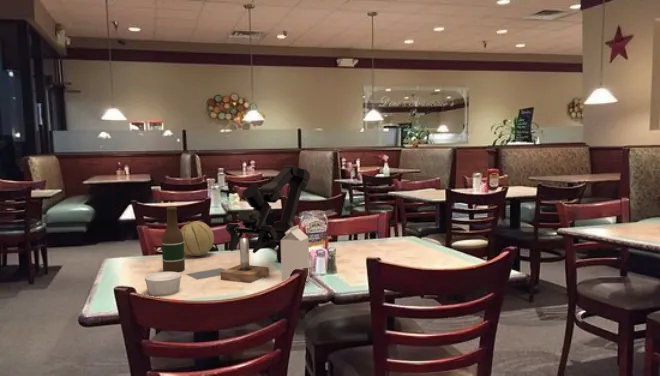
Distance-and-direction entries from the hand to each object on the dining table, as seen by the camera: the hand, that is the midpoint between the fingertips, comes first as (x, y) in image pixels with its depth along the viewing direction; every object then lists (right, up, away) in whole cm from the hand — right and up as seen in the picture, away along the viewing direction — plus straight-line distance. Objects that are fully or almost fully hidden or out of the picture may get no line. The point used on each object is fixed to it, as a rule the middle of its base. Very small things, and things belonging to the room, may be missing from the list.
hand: (242, 251), depth 185 cm
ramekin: (-23, -11, -13) cm, 29 cm away
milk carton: (+19, -10, -5) cm, 22 cm away
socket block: (+1, -9, +2) cm, 10 cm away
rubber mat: (-13, -9, +8) cm, 18 cm away
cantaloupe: (-26, -7, +40) cm, 48 cm away
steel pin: (+1, -9, +2) cm, 10 cm away
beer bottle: (-27, -9, +13) cm, 32 cm away
